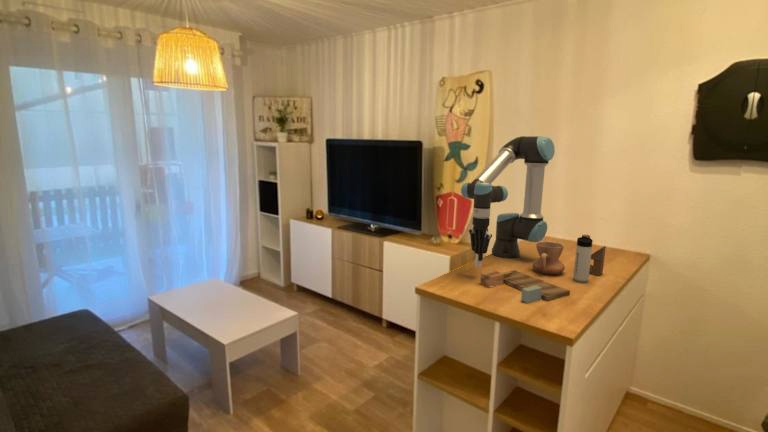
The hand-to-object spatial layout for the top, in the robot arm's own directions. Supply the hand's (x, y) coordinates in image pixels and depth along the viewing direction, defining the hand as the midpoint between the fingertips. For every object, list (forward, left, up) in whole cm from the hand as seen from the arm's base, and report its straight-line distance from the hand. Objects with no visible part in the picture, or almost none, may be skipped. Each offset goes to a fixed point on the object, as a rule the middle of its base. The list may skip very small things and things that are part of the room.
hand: (478, 266), depth 189 cm
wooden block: (+21, +53, -5) cm, 57 cm away
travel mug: (+26, +39, -5) cm, 47 cm away
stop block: (+31, 0, -5) cm, 31 cm away
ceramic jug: (+11, +35, -5) cm, 37 cm away
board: (+20, +12, -5) cm, 24 cm away
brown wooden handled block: (+10, +3, -5) cm, 12 cm away
